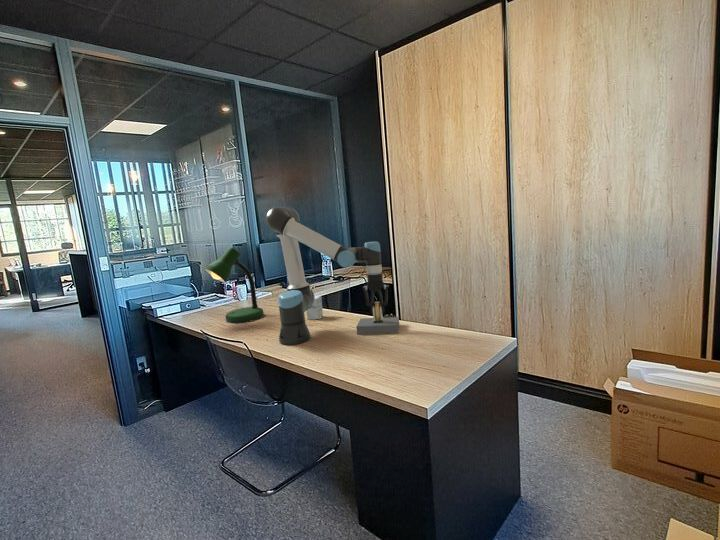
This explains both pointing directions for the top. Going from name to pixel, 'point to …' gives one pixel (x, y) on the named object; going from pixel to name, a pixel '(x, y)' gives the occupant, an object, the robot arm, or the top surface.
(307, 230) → the robot arm
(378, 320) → the brass pin
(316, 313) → the supplement box
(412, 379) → the top surface
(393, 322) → the bore block
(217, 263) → the desk lamp
